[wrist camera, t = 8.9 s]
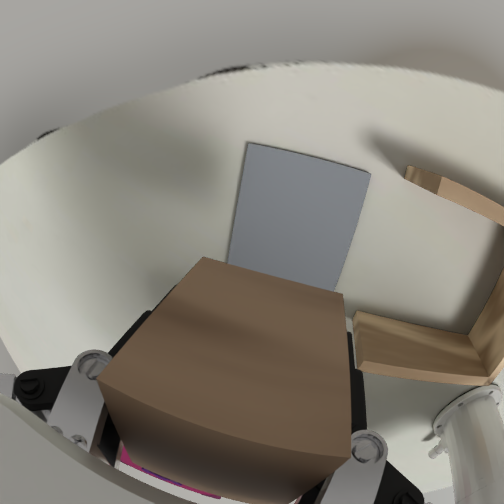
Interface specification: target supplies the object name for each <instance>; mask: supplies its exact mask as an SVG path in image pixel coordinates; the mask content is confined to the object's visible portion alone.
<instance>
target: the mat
mask: <svg viewBox="0 0 504 504" xmlns="http://www.w3.org/2000/svg"><path fill="white" fill-rule="evenodd" d="M370 177H371V174H370V173H367V172H364V171H361V170H358V169H354V168H351V167H348V166H344V165H341V164H337V163H334V162H330V161H326V160H323V159H319V158H315V157H311V156H307V155H303V154H299V153H294V152H290V151H286V150H281V149H277V148H272V147H267V146H262V145H257V144H252V143H248V149H247V154H246V159H245V165H244V170H243V176H242V181H241V187H240V192H239V198H238V203H237V209H236V215H235V221H234V226H233V232H232V238H231V244H230V250H229V256H228V262H227V263H228V264H231V265H235V266H239V267H242V268H246V269H250V270H253V271H257V272H261V273H264V274H268V275H272V276H276V277H279V278H283V279H287V280H291V281H294V282H298V283H302V284H306V285H310V286H314V287H317V288H321V289H325V290H329V291H333V292H334V290H335V287H336V284H337V282H338V279H339V276H340V273H341V271H342V268H343V265H344V262H345V259H346V256H347V253H348V250H349V247H350V244H351V241H352V238H353V235H354V232H355V229H356V226H357V223H358V219H359V216H360V213H361V209H362V206H363V202H364V199H365V196H366V192H367V188H368V185H369V181H370Z"/></svg>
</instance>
